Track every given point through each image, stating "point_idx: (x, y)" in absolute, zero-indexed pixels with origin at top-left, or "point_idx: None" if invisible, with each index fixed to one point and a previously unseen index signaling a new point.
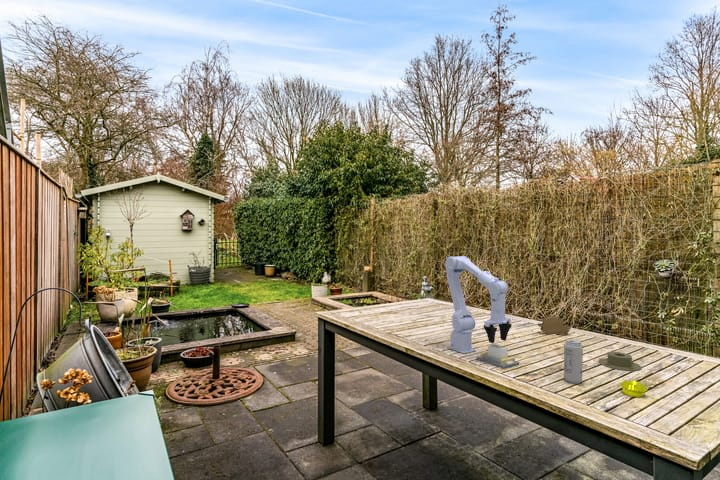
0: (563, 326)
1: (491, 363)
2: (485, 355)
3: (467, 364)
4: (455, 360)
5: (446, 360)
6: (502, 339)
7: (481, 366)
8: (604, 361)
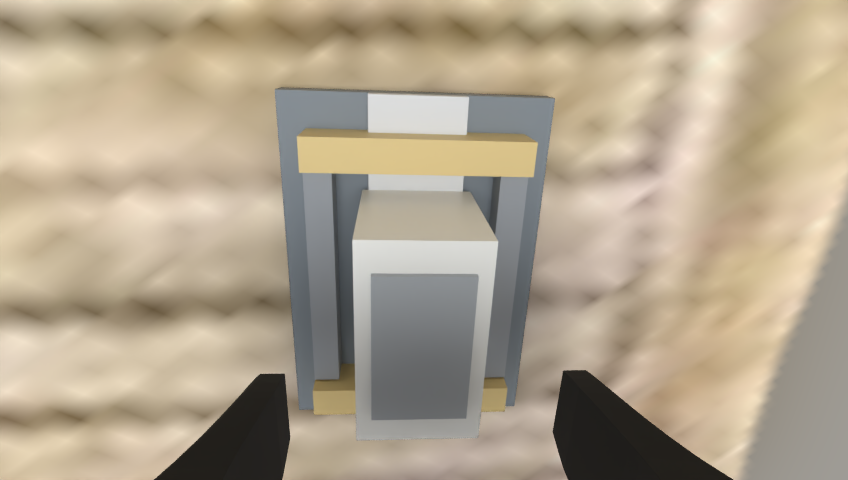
0: None
1: (532, 244)
2: None
3: (682, 345)
4: None
5: None
6: (284, 418)
7: (640, 256)
8: None
